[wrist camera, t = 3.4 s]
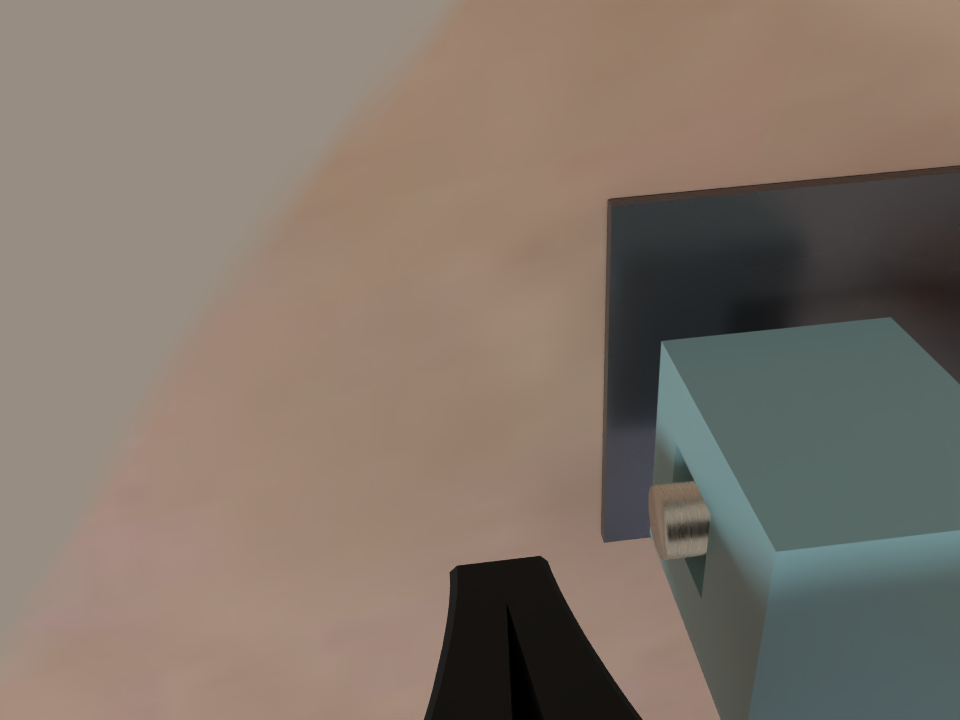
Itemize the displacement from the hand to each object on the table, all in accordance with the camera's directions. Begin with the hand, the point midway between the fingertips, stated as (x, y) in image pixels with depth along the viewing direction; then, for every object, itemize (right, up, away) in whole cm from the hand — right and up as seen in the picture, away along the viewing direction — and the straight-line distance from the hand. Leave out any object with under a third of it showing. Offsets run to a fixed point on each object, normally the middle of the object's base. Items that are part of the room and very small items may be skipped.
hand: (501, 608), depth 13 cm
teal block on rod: (+5, +2, +3) cm, 6 cm away
